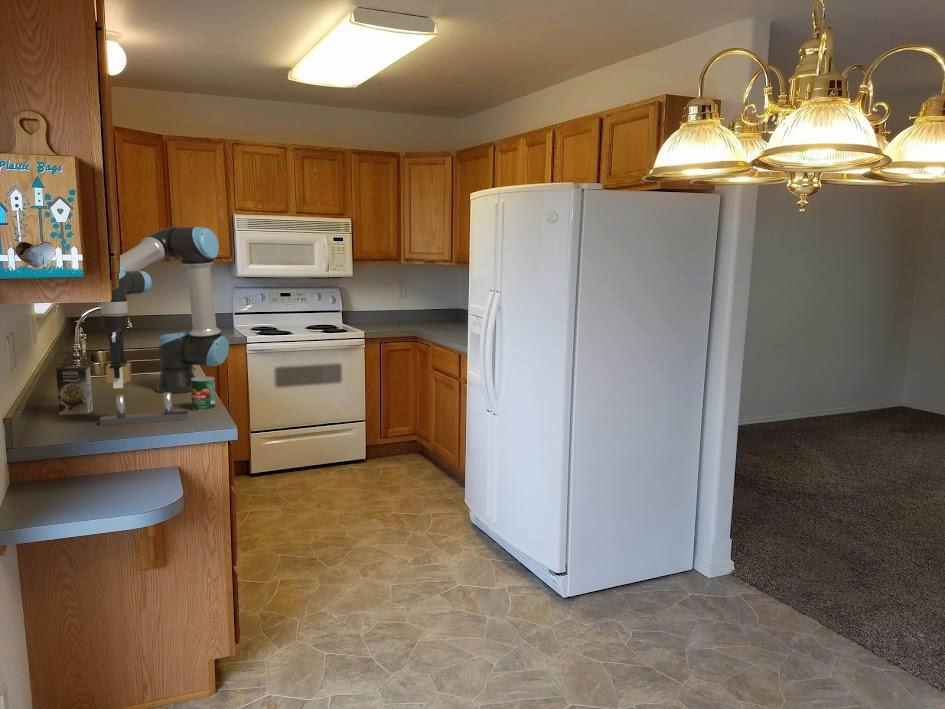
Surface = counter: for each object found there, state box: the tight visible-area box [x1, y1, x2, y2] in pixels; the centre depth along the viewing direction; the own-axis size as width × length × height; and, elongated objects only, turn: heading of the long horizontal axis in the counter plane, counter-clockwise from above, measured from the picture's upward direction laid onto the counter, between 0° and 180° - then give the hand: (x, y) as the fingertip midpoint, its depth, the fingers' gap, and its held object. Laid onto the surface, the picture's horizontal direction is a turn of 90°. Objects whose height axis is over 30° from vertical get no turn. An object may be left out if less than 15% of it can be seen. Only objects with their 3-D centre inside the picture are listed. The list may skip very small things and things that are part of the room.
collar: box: [105, 362, 133, 384], centre depth 218 cm, size 6×6×5 cm
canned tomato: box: [191, 376, 217, 412], centre depth 240 cm, size 8×8×11 cm
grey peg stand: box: [99, 392, 189, 427], centre depth 222 cm, size 4×26×9 cm, turn 111°
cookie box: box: [55, 365, 94, 416], centre depth 232 cm, size 9×6×16 cm
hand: (119, 385), depth 218 cm, fingers closed on collar, 6 cm apart
